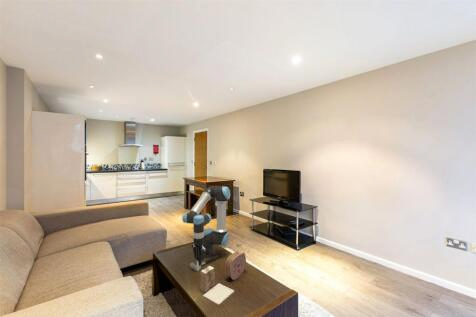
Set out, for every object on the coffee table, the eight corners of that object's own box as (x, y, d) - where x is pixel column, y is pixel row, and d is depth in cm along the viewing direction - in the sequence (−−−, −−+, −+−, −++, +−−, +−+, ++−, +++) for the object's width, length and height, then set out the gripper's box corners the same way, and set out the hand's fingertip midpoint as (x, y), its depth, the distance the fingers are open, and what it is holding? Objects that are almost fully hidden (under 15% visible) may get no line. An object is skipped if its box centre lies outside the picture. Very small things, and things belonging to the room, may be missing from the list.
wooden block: (209, 283, 151) (209, 265, 151) (214, 286, 148) (214, 267, 148) (200, 289, 144) (200, 271, 144) (205, 292, 141) (205, 273, 141)
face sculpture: (231, 283, 151) (231, 260, 151) (224, 280, 155) (224, 258, 155) (246, 271, 167) (246, 250, 167) (239, 268, 171) (239, 248, 171)
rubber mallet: (224, 255, 188) (196, 268, 166) (224, 259, 188) (196, 272, 166) (217, 252, 194) (189, 263, 173) (217, 255, 194) (189, 267, 173)
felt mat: (219, 284, 150) (219, 283, 150) (234, 291, 142) (234, 290, 142) (203, 296, 138) (203, 295, 138) (218, 305, 129) (218, 304, 129)
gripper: (188, 236, 152) (188, 268, 152) (201, 241, 144) (201, 274, 144) (196, 233, 158) (196, 264, 158) (208, 237, 150) (208, 269, 150)
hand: (198, 269), depth 151 cm, fingers closed
